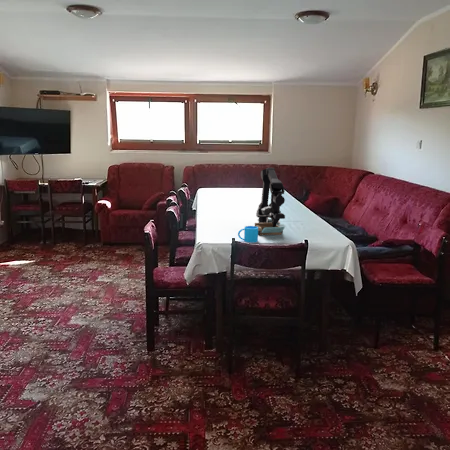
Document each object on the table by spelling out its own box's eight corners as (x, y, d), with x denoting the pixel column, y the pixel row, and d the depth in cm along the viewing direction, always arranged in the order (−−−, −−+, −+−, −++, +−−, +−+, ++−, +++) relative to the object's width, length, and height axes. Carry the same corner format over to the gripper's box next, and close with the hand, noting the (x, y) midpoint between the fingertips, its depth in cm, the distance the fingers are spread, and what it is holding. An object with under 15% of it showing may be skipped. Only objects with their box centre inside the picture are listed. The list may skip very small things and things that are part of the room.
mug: (256, 239, 252) (257, 225, 250) (258, 242, 244) (259, 229, 242) (236, 239, 251) (237, 225, 249) (238, 242, 243) (239, 228, 241)
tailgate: (260, 231, 261) (263, 227, 255) (281, 231, 264) (285, 226, 258) (260, 233, 260) (264, 228, 254) (281, 232, 264) (285, 228, 258)
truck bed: (252, 231, 272) (253, 222, 271) (276, 230, 276) (276, 222, 275) (258, 235, 261) (259, 226, 259) (283, 234, 265) (283, 226, 264)
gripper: (257, 200, 260) (256, 224, 264) (268, 205, 243) (267, 231, 246) (274, 199, 263) (273, 223, 267) (286, 205, 246) (284, 230, 249)
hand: (274, 227), depth 257 cm, fingers closed
